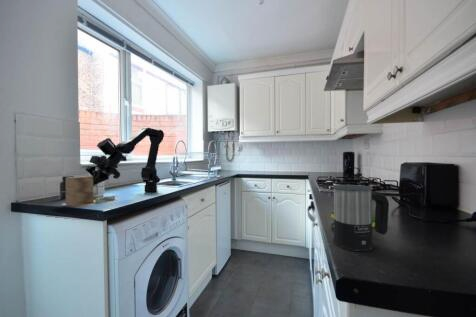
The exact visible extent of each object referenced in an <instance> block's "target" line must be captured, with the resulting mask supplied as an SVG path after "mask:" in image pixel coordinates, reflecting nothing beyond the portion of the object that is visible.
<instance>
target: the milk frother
mask: <svg viewBox="0 0 476 317" xmlns="http://www.w3.org/2000/svg"><path fill="white" fill-rule="evenodd" d="M332 188H333V212H334V218H333V219H334V220H333V222H332V223H331V225H330V230H332V232H333V239H332V242H333V244H334V245H336V246H337V247H339V248H341V249H345V250H348V251H349V250H350V251H354V252H355V251H356V252H368V251H371V250H373V249H374V244H373V227H372V217H373V206H372V205H373V203H372V202H373V201H372V200H374V202H375V209H374V210H375V211H374V217H375V227H374V231H375V232H376V233H378V234H380V235H386V234H387V233H388V226H389V225H388V224H389V222H388V221H389V209H390V204H389V199H388V198H387V197H386V196H385V194H383V193H382V192H378V191H374V190H373V189H374V188H373V187H372V186H368V185H360V184H358V185H357V184H335V185H332Z"/></svg>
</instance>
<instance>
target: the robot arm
mask: <svg viewBox="0 0 476 317" xmlns="http://www.w3.org/2000/svg"><path fill="white" fill-rule="evenodd" d="M146 137H149V141H150V146H149V151H148V155H147V161H146V165H145V166H144V167H142V168H141V172H140V177H141V178H142V182H143V183H145V184H144V194H157V193H158V191H159V190H158V183H160V181H161V179H160V177H159V176H158V174H157V168H156V162H157V159H158V158H157V157H158V152H159V148H160V144H161V143H162V141H163V140H164V137H165V133H164V131H163V130H162V129H155V128H151V127H142V128H141V129H140V130H139V131H138V132H136V133H135V134H133V136H131V137H130V138H128V139H127V140H124V141H122V142H119V143H117V144H115V143H114V142H113V141H112V139H111V137H107V138H105V139H103V140H102V141H99V142H98V143H97V145H96V147H97V148H98V149H99V150H100V151H101V152H102V153H103V155H101V156H100V155H99V156H98V155H92V156H91V157H90V159H89V163H90V164H94V165H96V166H92V165H90V166H87V167H86V168H85V169H84V170H85V171H86V172H87V173H90V174H91V175H92V176H93V186H94V185H96V184H98V183H100V182H103V181H104V182H105V181H107V180H110V176H112V175H113V177H112V178H113V179H119V178H120V176H121V172H120V171H118V168H119V166H118V165H119V164H120V163H122V162H126V161H128V160H127V156H126V155H129V154H131V153H132V152H133V151H134V150H135V149H136V147H137V145H138V144H139V143H141V142H142V140H144V139H145V138H146ZM107 156H108V157H107Z"/></svg>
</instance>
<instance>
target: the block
mask: <svg viewBox="0 0 476 317" xmlns="http://www.w3.org/2000/svg"><path fill="white" fill-rule="evenodd" d="M93 195H94V194H93V177H91V176H89V175H88V176H87V175H83V176H74V177H67V178H66V199H65V204H66V205H65V206H68V207H74V206H80V205H85V204H90V203H93Z"/></svg>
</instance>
